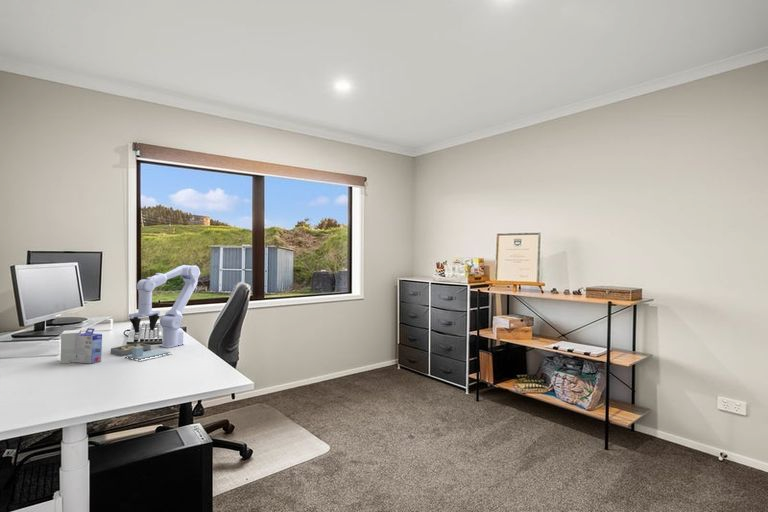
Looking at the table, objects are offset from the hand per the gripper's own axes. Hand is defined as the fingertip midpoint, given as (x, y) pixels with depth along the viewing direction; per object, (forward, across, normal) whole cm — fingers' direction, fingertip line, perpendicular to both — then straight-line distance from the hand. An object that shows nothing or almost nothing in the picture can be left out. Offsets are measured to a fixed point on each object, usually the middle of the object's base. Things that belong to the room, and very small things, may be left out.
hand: (144, 331), depth 200 cm
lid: (+10, +4, +10) cm, 14 cm away
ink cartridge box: (+10, +24, -3) cm, 26 cm away
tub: (+10, +4, -4) cm, 11 cm away
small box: (+10, +27, -10) cm, 31 cm away
